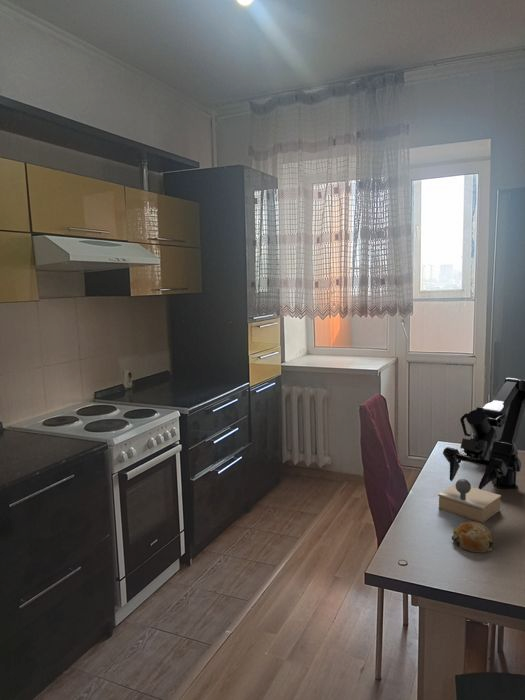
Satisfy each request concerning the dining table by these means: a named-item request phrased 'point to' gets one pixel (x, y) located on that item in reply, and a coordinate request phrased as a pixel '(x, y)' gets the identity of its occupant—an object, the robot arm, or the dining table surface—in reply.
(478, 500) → the lid
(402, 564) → the dining table surface
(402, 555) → the dining table surface
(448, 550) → the dining table surface
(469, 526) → the bread roll
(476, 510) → the wooden box
